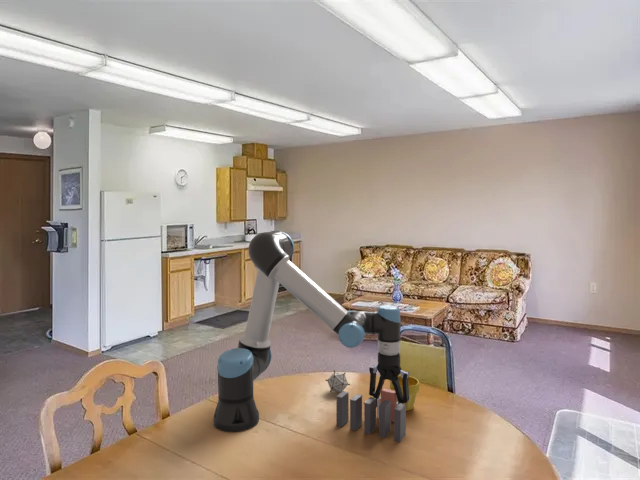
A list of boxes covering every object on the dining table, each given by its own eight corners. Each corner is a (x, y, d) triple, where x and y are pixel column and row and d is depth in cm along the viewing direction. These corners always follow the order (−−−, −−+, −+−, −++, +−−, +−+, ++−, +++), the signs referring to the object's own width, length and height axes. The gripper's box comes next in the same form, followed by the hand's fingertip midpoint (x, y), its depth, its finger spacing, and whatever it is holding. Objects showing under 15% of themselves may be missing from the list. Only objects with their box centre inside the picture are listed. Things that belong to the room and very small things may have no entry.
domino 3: (364, 432, 145) (364, 402, 145) (370, 426, 150) (370, 396, 149) (370, 434, 144) (370, 403, 144) (376, 427, 149) (376, 398, 148)
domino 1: (336, 425, 150) (336, 396, 150) (343, 419, 155) (343, 390, 154) (341, 427, 149) (341, 397, 149) (348, 420, 154) (348, 392, 153)
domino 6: (394, 440, 141) (394, 409, 140) (399, 433, 145) (399, 403, 144) (400, 442, 140) (400, 410, 139) (405, 435, 144) (405, 404, 143)
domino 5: (378, 436, 143) (379, 405, 142) (384, 429, 147) (384, 399, 147) (384, 438, 142) (385, 407, 141) (390, 431, 146) (390, 401, 146)
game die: (342, 400, 178) (357, 381, 178) (332, 400, 172) (348, 380, 171) (327, 384, 184) (342, 365, 183) (317, 383, 177) (332, 363, 176)
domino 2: (350, 429, 148) (350, 399, 147) (356, 422, 152) (356, 393, 151) (355, 430, 147) (355, 400, 146) (362, 424, 151) (362, 395, 151)
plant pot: (424, 410, 161) (425, 383, 161) (399, 415, 158) (399, 387, 157) (408, 398, 171) (409, 373, 170) (384, 403, 167) (384, 377, 166)
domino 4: (394, 422, 152) (394, 393, 152) (380, 418, 155) (380, 390, 154) (396, 419, 154) (396, 391, 154) (382, 416, 157) (382, 388, 156)
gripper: (358, 351, 154) (358, 417, 156) (413, 359, 145) (412, 429, 147) (367, 345, 161) (367, 408, 163) (420, 353, 152) (419, 420, 153)
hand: (388, 418), depth 155 cm, fingers open, 6 cm apart
